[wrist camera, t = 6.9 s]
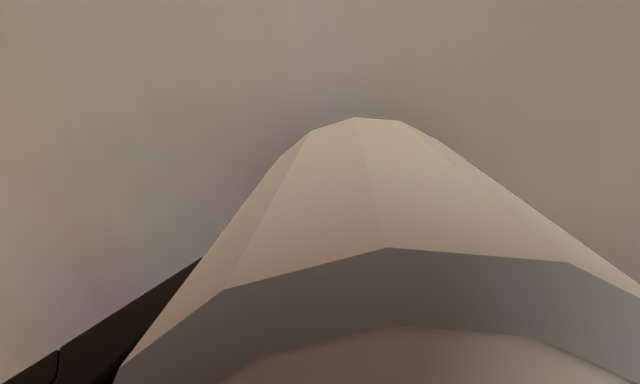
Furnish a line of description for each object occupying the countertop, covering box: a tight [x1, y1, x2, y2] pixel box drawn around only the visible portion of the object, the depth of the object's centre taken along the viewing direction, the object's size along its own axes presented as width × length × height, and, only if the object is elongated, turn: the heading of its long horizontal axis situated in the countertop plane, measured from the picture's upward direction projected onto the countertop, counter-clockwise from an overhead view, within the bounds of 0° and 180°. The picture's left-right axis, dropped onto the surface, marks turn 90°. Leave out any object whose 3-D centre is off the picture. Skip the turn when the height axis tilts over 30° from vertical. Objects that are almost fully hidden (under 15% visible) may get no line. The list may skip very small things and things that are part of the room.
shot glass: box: [113, 117, 640, 384], centre depth 7 cm, size 7×7×7 cm
